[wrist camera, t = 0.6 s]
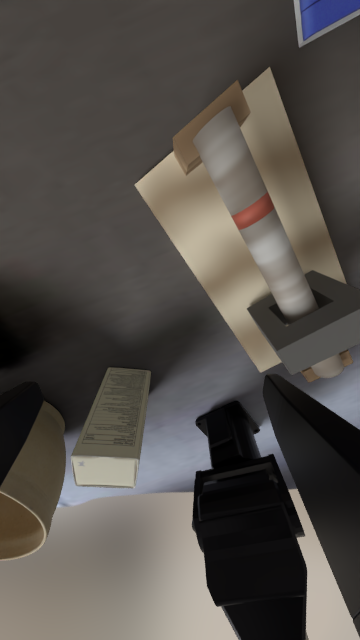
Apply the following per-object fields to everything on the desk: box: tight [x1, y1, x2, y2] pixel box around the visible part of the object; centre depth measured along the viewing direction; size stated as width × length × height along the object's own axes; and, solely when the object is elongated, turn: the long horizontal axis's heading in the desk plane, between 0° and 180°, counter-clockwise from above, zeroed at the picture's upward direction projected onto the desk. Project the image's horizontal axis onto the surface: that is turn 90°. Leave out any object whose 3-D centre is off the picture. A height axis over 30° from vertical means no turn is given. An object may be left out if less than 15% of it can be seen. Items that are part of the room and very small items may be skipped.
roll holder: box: [135, 67, 353, 383], centre depth 17 cm, size 22×11×6 cm, turn 35°
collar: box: [247, 270, 360, 376], centre depth 17 cm, size 2×6×7 cm, turn 125°
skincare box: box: [71, 367, 151, 488], centre depth 21 cm, size 5×4×10 cm
